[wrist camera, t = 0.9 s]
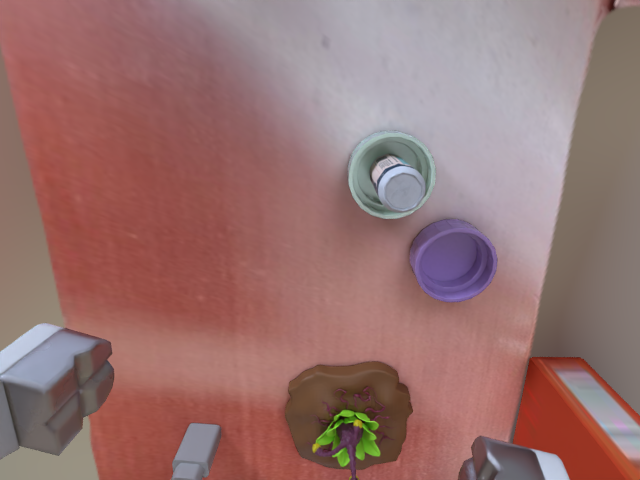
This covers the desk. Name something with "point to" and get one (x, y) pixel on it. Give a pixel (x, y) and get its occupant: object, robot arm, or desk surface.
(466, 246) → the lavender bowl
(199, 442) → the power adapter
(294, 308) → the desk surface
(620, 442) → the red tall rectangular block
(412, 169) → the white cylindrical canister
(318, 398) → the plant
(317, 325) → the desk surface
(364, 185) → the celadon bowl
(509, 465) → the robot arm
